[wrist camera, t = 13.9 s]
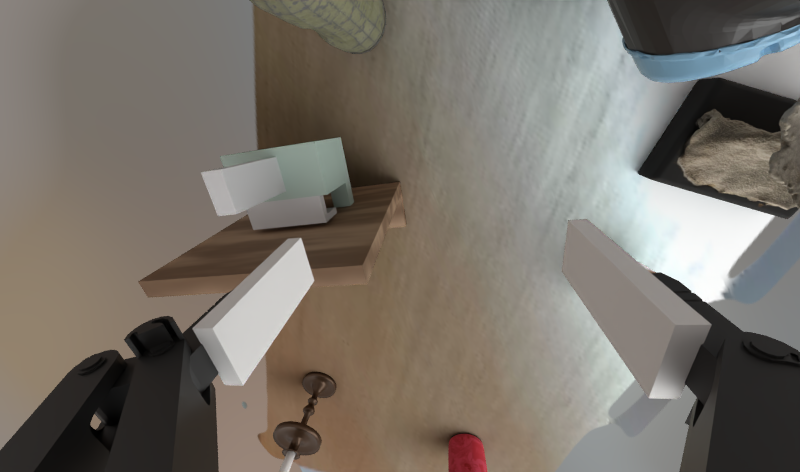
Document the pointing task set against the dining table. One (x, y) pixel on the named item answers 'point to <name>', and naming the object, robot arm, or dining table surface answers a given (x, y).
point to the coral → (733, 147)
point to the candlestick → (303, 422)
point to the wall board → (246, 248)
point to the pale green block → (282, 184)
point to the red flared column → (466, 454)
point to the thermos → (334, 20)
